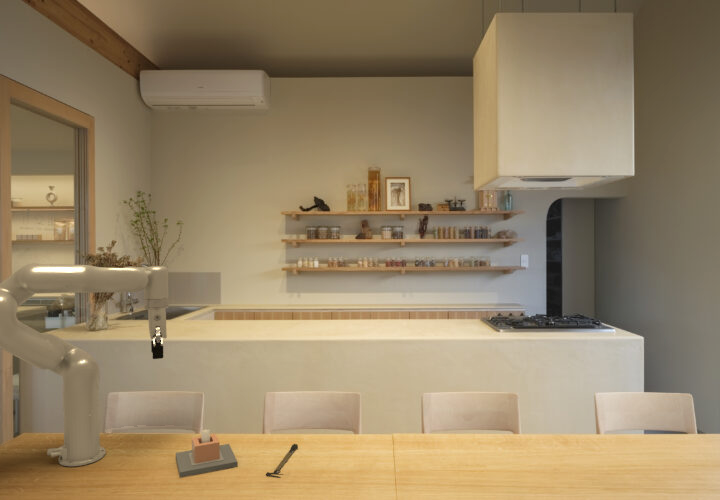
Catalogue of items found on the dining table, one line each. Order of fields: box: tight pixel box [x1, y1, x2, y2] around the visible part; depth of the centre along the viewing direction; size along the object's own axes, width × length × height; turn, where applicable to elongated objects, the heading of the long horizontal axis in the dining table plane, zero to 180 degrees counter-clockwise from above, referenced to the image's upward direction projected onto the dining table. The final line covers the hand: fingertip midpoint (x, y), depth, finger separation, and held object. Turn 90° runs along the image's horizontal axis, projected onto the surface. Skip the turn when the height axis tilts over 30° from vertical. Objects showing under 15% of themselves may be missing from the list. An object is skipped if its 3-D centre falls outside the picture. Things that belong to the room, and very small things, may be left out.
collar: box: [191, 433, 220, 463], centre depth 153 cm, size 7×7×5 cm
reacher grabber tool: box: [265, 443, 299, 479], centre depth 153 cm, size 21×7×1 cm, turn 166°
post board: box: [175, 428, 239, 478], centre depth 153 cm, size 16×14×10 cm
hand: (157, 355), depth 169 cm, fingers open, 9 cm apart
